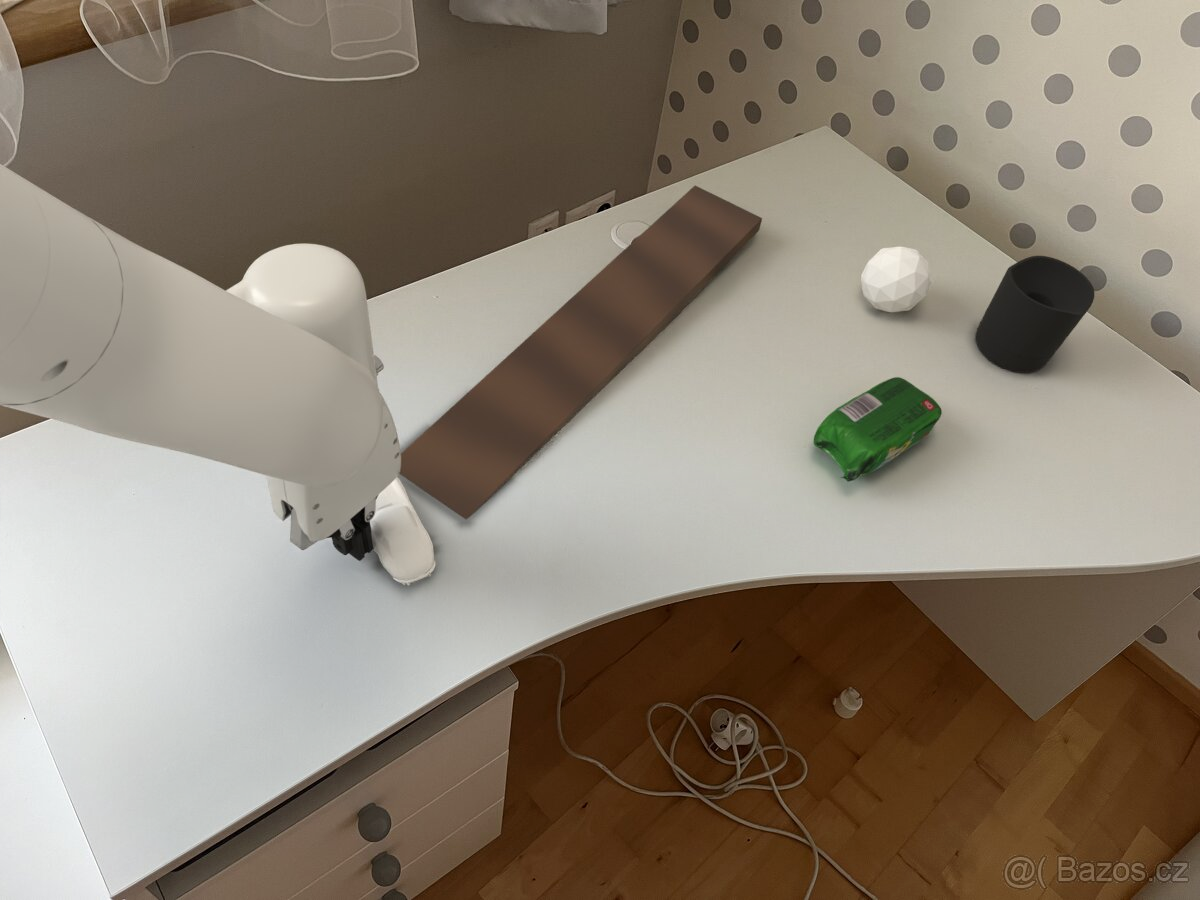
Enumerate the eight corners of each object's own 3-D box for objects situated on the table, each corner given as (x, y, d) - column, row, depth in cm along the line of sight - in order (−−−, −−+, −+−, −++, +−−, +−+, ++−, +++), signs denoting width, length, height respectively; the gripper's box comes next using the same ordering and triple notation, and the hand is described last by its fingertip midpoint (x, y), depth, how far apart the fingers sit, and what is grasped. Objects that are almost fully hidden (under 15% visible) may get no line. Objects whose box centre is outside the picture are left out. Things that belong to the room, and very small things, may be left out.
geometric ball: (878, 309, 112) (918, 253, 109) (914, 333, 105) (957, 275, 103) (836, 283, 108) (876, 225, 106) (871, 307, 102) (914, 246, 99)
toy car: (394, 477, 85) (391, 454, 83) (446, 574, 79) (444, 553, 76) (344, 495, 83) (340, 473, 81) (394, 596, 77) (390, 575, 75)
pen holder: (1060, 380, 103) (1106, 316, 95) (980, 372, 102) (1020, 307, 95) (1038, 324, 109) (1080, 259, 101) (962, 316, 108) (999, 250, 101)
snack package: (792, 453, 92) (806, 420, 88) (891, 392, 99) (908, 359, 95) (843, 500, 89) (860, 468, 85) (941, 434, 96) (961, 401, 92)
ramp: (465, 533, 84) (464, 500, 80) (387, 479, 88) (382, 444, 83) (753, 252, 116) (763, 217, 111) (688, 219, 119) (695, 184, 114)
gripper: (363, 328, 70) (383, 473, 84) (205, 440, 61) (256, 580, 75) (436, 373, 67) (444, 515, 81) (282, 496, 59) (320, 630, 73)
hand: (354, 546), depth 78 cm, fingers closed
